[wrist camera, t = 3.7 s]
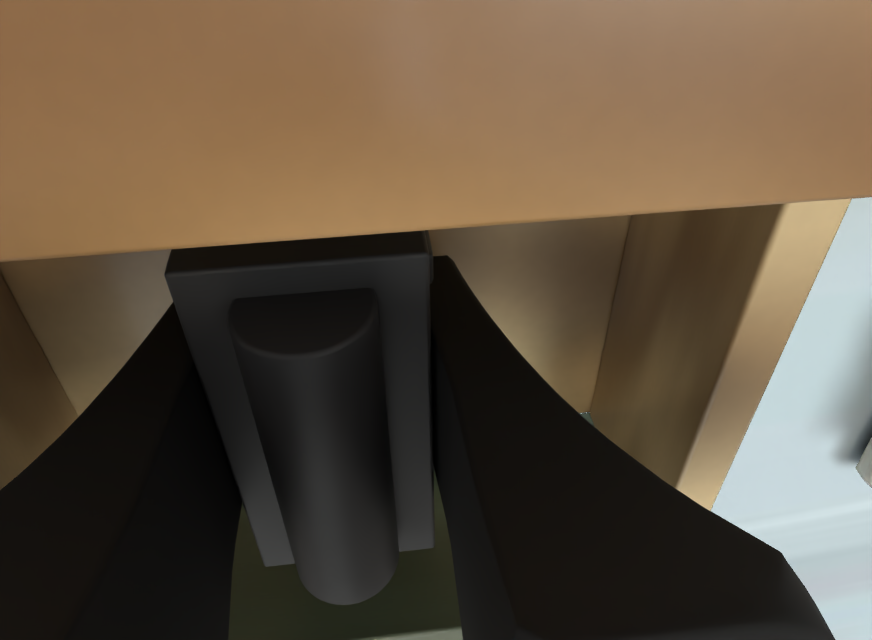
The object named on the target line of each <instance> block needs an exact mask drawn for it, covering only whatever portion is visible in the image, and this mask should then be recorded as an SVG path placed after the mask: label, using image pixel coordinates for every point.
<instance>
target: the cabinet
mask: <svg viewBox="0 0 872 640" xmlns="http://www.w3.org/2000/svg"><path fill="white" fill-rule="evenodd" d="M865 197H872V0H0V262H8V261H22V260H35V259H49V258H62V257H75V256H89V255H102V254H116V253H129V252H142V251H156V250H169V249H182V248H196V247H209V246H223V245H236V244H249V243H263V242H276V241H289V240H303V239H316V238H330V237H343V236H356V235H370V234H383V233H397V232H410V231H423V230H437V229H450V228H463V227H477V226H490V225H504V224H517V223H530V222H544V221H557V220H571V219H584V218H597V217H611V216H624V215H637V214H651V213H664V212H678V211H691V210H704V209H718V208H731V207H745V206H758V205H771V204H785V203H798V202H811V201H825V200H838V199H852V198H865Z"/></svg>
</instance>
